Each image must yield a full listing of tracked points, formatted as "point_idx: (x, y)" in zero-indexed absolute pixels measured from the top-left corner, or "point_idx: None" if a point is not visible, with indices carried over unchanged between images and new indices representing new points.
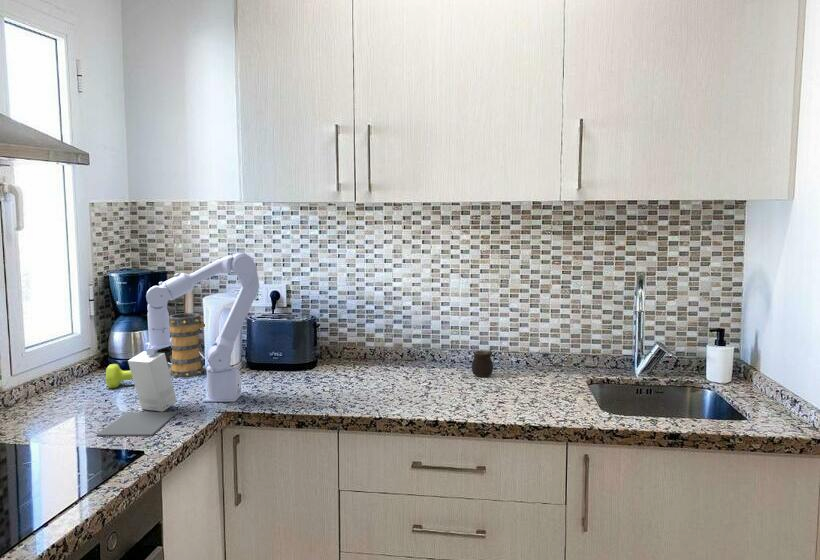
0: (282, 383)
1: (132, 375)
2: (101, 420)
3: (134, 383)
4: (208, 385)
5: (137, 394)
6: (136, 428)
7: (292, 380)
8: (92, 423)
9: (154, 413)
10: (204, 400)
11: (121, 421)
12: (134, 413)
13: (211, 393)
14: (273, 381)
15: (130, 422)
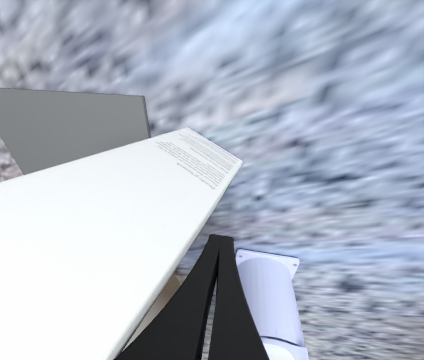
0: (339, 335)
1: (65, 167)
2: (66, 28)
3: (113, 150)
4: (247, 290)
5: (154, 137)
6: (47, 165)
7: (354, 345)
8: (31, 6)
9: None
10: (237, 253)
11: (68, 113)
12: (134, 125)
13: (240, 275)
14: (363, 330)
15: (72, 140)
